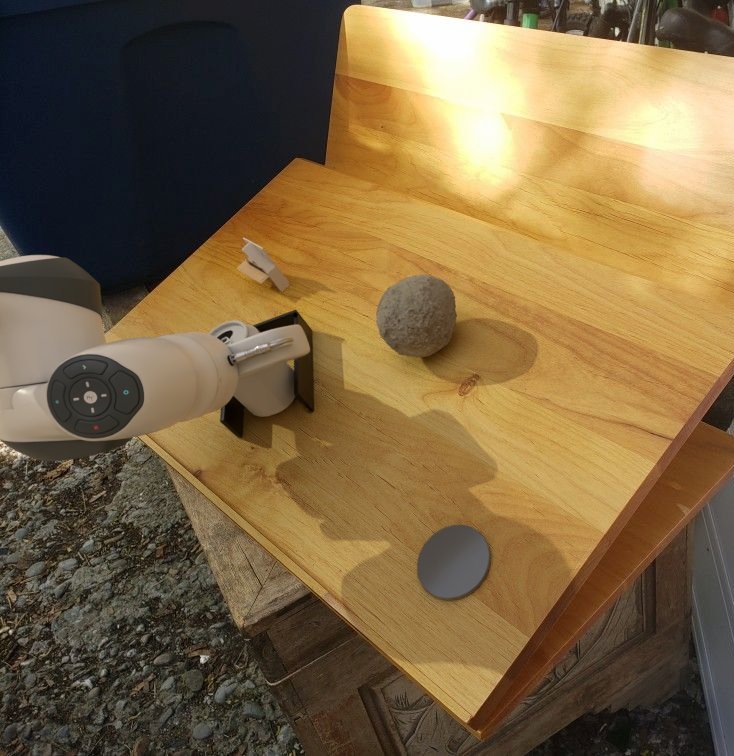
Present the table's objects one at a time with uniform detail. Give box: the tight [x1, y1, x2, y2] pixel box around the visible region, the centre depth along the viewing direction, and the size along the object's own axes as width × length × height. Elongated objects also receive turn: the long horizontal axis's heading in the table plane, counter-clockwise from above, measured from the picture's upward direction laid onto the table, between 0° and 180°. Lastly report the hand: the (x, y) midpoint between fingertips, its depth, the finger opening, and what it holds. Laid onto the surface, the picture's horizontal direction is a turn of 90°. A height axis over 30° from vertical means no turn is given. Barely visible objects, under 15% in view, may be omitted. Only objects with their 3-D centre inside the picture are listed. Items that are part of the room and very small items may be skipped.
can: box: [207, 319, 296, 418], centre depth 84 cm, size 8×8×12 cm
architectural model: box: [236, 236, 290, 292], centre depth 101 cm, size 3×7×7 cm, turn 49°
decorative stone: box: [375, 274, 458, 358], centre depth 83 cm, size 10×8×10 cm
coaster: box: [416, 524, 492, 601], centre depth 68 cm, size 8×8×1 cm
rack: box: [219, 309, 315, 439], centre depth 89 cm, size 15×11×4 cm
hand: (247, 362), depth 84 cm, fingers closed on can, 7 cm apart
